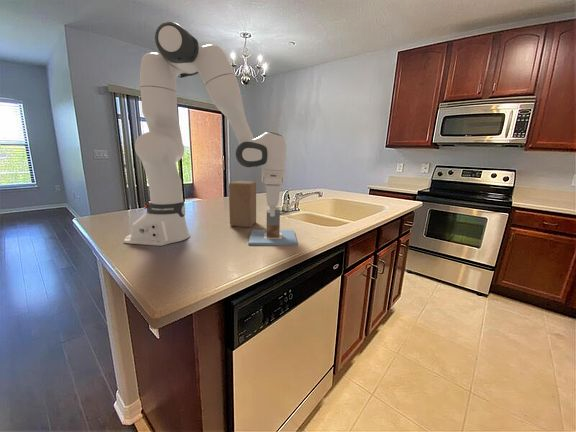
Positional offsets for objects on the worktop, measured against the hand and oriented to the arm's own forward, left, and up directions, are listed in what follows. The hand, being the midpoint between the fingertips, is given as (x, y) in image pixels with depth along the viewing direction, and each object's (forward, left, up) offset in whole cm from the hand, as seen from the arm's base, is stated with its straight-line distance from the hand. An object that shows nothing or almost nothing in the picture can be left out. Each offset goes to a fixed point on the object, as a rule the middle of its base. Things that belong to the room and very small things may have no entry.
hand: (272, 213), depth 99 cm
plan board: (0, 0, -10) cm, 10 cm away
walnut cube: (0, 0, -9) cm, 9 cm away
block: (-14, +20, -11) cm, 26 cm away
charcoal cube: (0, 0, -4) cm, 4 cm away
